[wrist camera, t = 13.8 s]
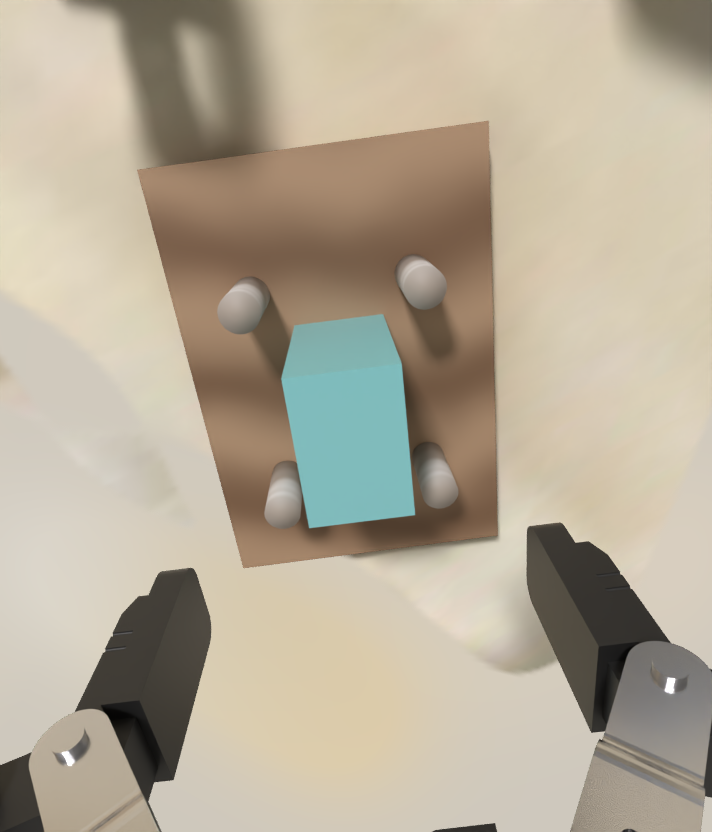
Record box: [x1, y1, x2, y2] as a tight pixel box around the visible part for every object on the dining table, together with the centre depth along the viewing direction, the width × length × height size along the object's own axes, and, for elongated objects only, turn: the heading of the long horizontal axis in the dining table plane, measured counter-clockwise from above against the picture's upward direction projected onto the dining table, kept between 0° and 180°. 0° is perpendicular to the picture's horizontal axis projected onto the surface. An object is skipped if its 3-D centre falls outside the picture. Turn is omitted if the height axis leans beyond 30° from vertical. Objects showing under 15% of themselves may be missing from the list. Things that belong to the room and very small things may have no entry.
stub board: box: [137, 121, 498, 568], centre depth 24 cm, size 20×14×5 cm
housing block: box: [281, 314, 415, 528], centre depth 22 cm, size 6×4×7 cm, turn 7°
